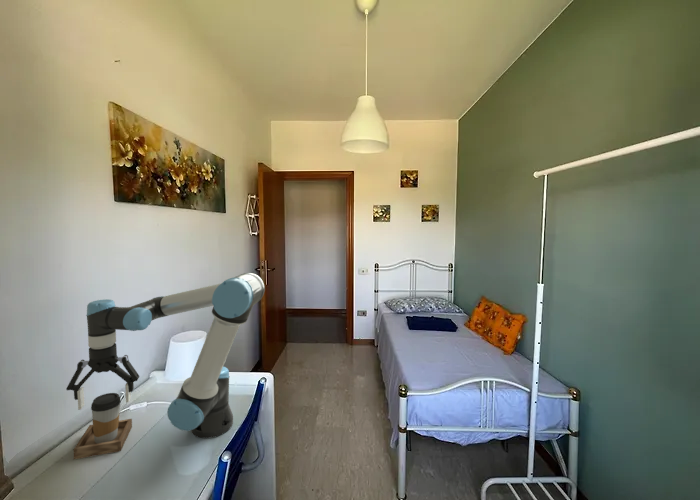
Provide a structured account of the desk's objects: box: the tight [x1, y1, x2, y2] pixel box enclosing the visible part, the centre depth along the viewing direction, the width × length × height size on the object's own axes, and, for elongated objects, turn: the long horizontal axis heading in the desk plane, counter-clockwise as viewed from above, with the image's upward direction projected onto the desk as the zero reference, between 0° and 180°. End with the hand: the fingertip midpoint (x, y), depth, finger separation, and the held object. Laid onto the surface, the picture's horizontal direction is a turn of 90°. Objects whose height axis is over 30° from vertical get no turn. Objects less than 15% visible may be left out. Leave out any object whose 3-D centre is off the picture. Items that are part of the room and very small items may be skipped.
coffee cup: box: [90, 392, 122, 444], centre depth 111 cm, size 8×8×15 cm
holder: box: [72, 418, 133, 460], centre depth 112 cm, size 13×13×4 cm
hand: (105, 403), depth 110 cm, fingers open, 13 cm apart
